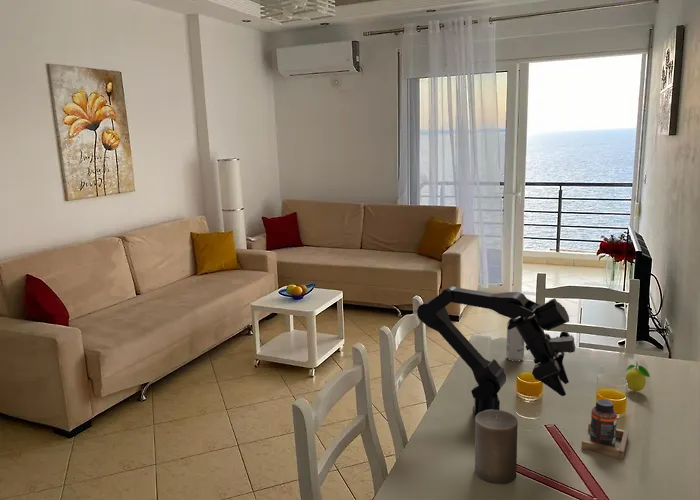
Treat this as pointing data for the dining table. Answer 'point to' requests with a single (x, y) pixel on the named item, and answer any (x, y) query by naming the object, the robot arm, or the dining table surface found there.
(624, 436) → the bay
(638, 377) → the lemon
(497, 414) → the pillar candle
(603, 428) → the supplement bottle
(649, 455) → the dining table surface
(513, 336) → the energy drink can
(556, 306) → the robot arm
